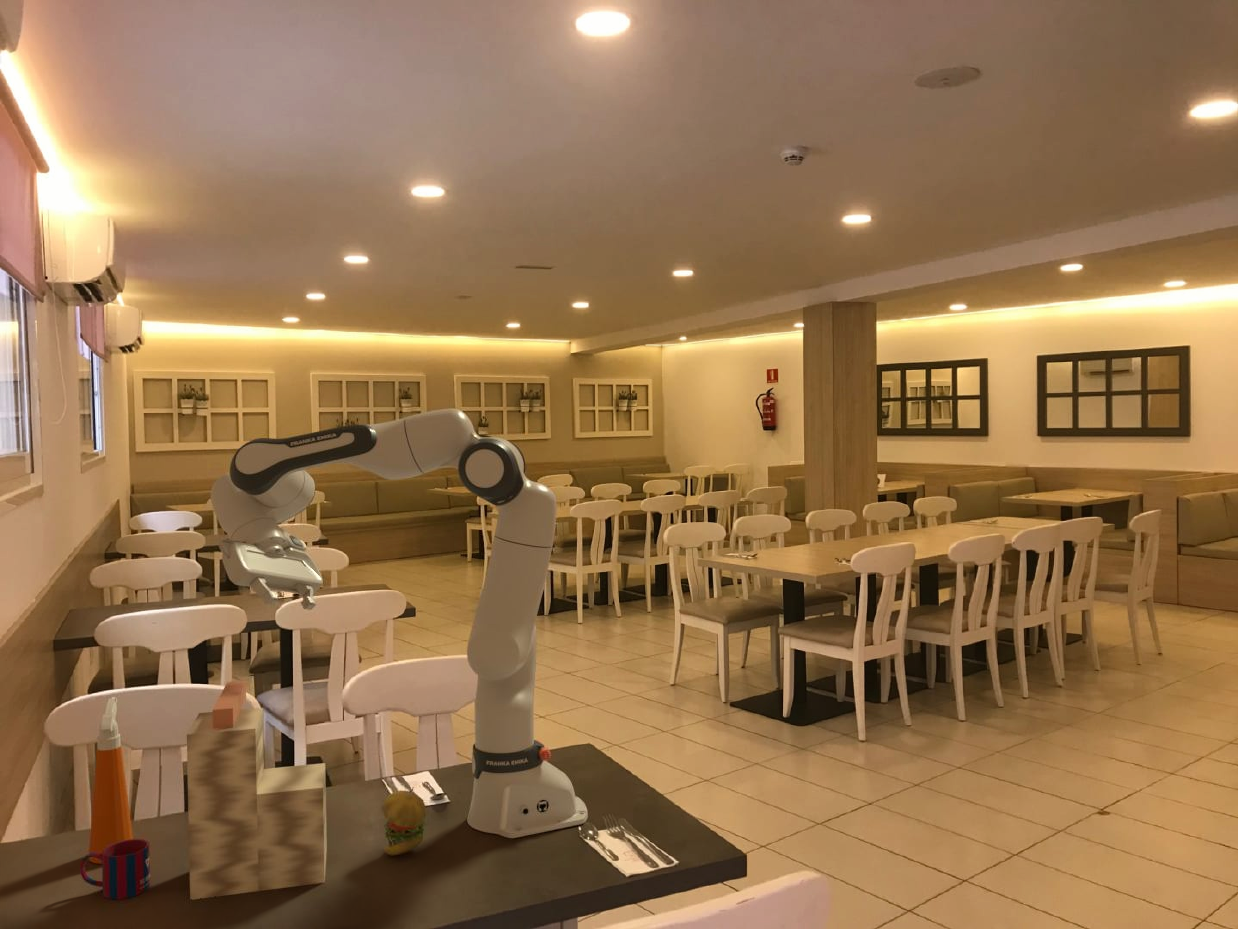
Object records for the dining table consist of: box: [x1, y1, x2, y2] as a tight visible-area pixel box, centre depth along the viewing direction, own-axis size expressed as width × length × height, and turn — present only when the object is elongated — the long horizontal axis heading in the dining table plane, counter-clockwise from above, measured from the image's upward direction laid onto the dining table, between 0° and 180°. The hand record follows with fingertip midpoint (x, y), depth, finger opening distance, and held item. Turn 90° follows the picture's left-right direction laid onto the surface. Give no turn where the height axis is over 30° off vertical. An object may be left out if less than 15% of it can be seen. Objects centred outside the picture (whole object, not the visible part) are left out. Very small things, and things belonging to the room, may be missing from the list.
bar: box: [212, 680, 247, 729], centre depth 158 cm, size 3×18×3 cm, turn 16°
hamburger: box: [381, 786, 427, 856], centre depth 162 cm, size 8×7×12 cm
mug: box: [79, 838, 151, 900], centre depth 150 cm, size 7×10×7 cm
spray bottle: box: [88, 696, 134, 865], centre depth 164 cm, size 7×11×26 cm, turn 21°
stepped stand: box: [186, 707, 328, 900], centre depth 155 cm, size 20×12×26 cm, turn 106°
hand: (291, 605), depth 165 cm, fingers open, 8 cm apart
